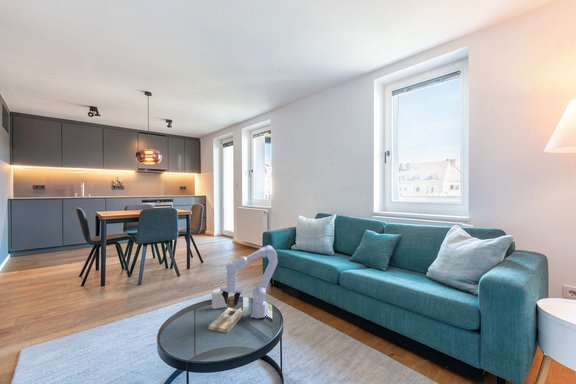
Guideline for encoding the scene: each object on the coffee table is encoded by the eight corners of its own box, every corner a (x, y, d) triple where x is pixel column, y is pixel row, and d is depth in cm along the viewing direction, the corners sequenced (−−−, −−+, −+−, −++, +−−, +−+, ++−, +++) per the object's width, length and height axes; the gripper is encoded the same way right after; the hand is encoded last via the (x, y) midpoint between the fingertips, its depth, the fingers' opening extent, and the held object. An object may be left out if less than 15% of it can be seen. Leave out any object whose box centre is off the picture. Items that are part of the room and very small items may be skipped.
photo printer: (227, 304, 182) (227, 286, 181) (228, 307, 177) (227, 289, 177) (211, 306, 178) (211, 288, 178) (212, 309, 174) (211, 291, 173)
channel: (241, 311, 169) (241, 308, 168) (231, 321, 156) (231, 318, 156) (230, 309, 171) (230, 306, 171) (219, 319, 159) (219, 316, 158)
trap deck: (244, 313, 169) (244, 310, 169) (227, 332, 148) (227, 329, 148) (228, 311, 173) (228, 308, 172) (208, 329, 152) (208, 325, 151)
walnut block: (237, 305, 164) (237, 297, 163) (232, 308, 160) (231, 300, 160) (232, 303, 166) (231, 295, 166) (226, 306, 162) (226, 298, 162)
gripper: (245, 280, 164) (245, 302, 164) (223, 278, 167) (223, 299, 168) (240, 285, 157) (240, 307, 158) (218, 282, 161) (218, 304, 161)
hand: (231, 303), depth 162 cm, fingers closed on walnut block, 6 cm apart
